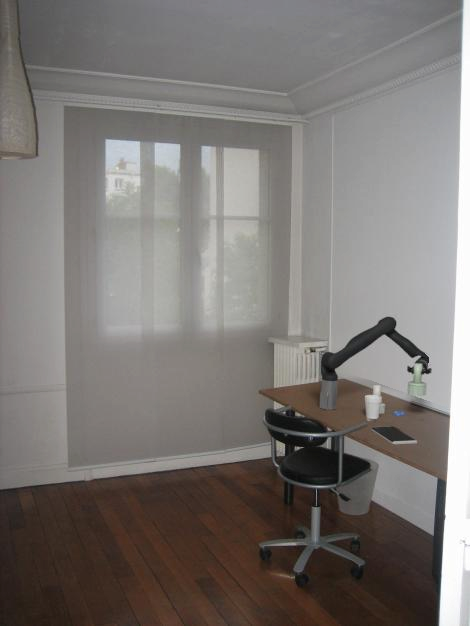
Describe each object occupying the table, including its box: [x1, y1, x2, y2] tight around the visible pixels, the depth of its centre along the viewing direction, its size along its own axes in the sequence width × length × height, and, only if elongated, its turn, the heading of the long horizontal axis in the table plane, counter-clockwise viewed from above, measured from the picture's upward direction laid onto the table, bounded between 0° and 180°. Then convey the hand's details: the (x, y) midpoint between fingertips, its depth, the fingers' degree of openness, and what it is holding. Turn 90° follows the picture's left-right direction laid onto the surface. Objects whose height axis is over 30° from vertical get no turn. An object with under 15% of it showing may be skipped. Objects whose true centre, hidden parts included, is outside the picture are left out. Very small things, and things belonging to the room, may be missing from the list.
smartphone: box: [370, 425, 418, 445], centre depth 333 cm, size 13×27×2 cm, turn 13°
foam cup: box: [364, 394, 383, 422], centre depth 362 cm, size 10×9×13 cm
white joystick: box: [372, 383, 386, 415], centre depth 374 cm, size 10×10×17 cm
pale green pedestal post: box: [407, 362, 427, 397], centre depth 363 cm, size 10×10×17 cm
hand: (417, 372), depth 360 cm, fingers closed on pale green pedestal post, 4 cm apart
